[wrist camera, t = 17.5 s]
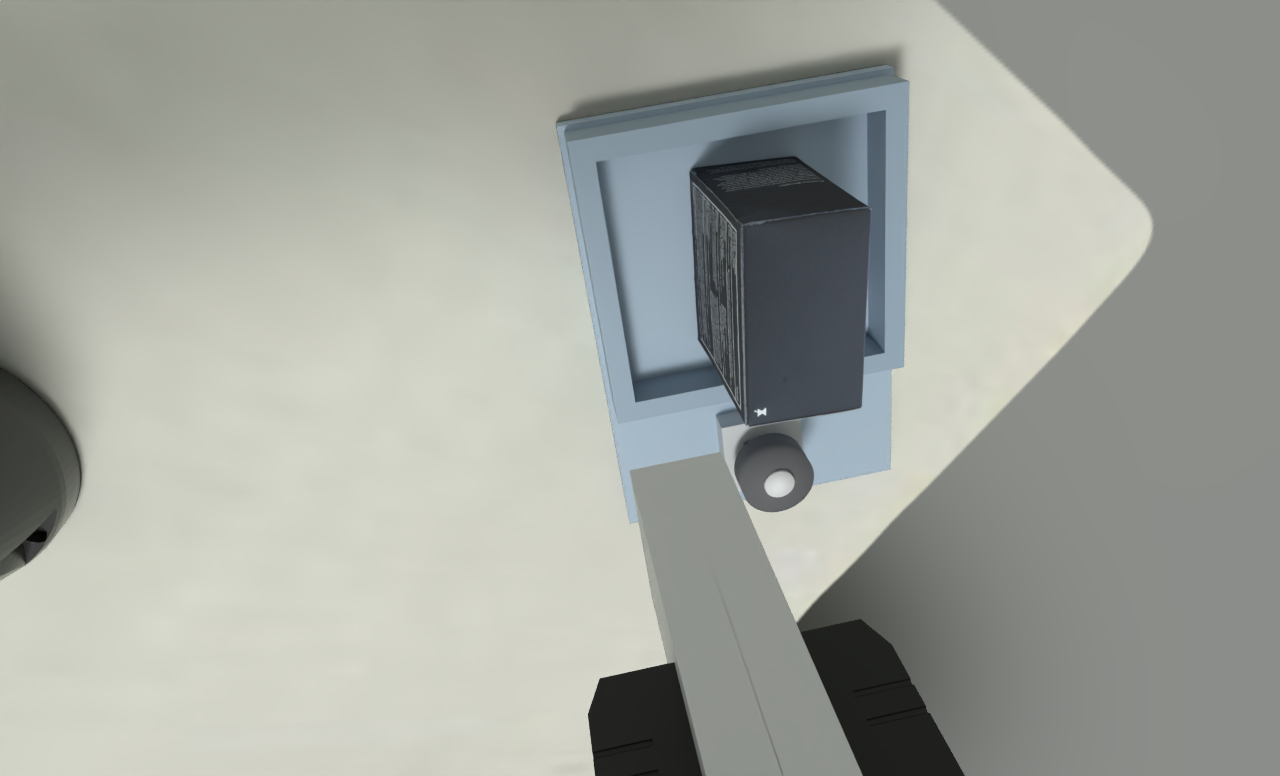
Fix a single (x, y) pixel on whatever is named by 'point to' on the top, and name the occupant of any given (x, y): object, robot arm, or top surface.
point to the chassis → (664, 263)
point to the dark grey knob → (773, 472)
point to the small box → (781, 287)
